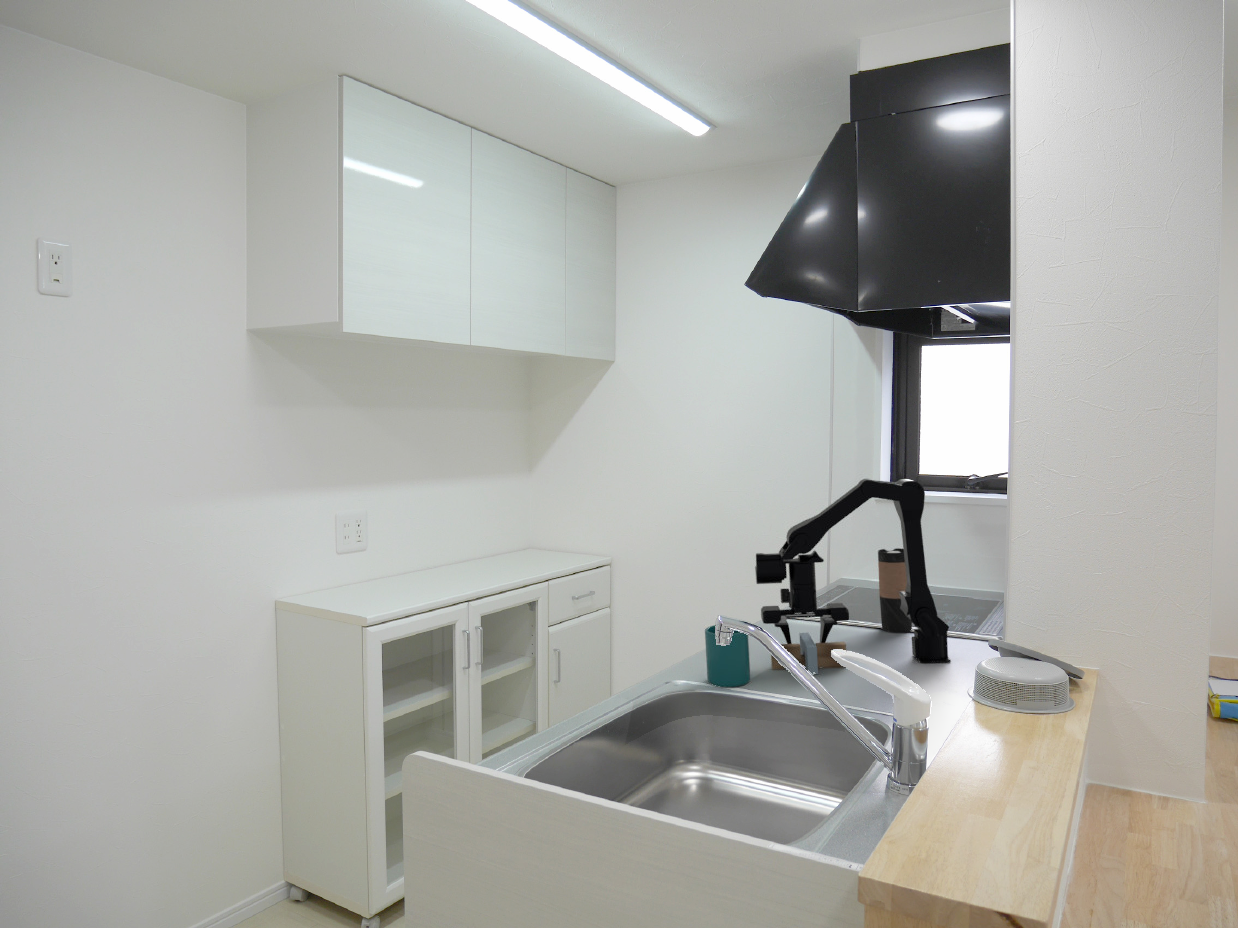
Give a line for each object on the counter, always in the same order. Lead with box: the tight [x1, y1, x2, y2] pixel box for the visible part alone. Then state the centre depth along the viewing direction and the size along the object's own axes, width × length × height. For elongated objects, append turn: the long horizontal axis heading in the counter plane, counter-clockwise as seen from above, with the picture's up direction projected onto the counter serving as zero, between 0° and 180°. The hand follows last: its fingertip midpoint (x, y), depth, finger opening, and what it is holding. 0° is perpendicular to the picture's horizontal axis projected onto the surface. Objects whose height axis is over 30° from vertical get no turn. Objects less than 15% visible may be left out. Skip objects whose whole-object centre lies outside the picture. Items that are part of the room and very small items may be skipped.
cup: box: [704, 624, 751, 688], centre depth 174 cm, size 9×12×11 cm
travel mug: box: [877, 547, 913, 634], centre depth 206 cm, size 8×8×20 cm
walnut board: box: [770, 641, 847, 671], centre depth 180 cm, size 16×2×5 cm, turn 85°
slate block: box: [799, 632, 819, 675], centre depth 180 cm, size 12×2×6 cm, turn 175°
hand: (806, 651), depth 184 cm, fingers open, 6 cm apart
